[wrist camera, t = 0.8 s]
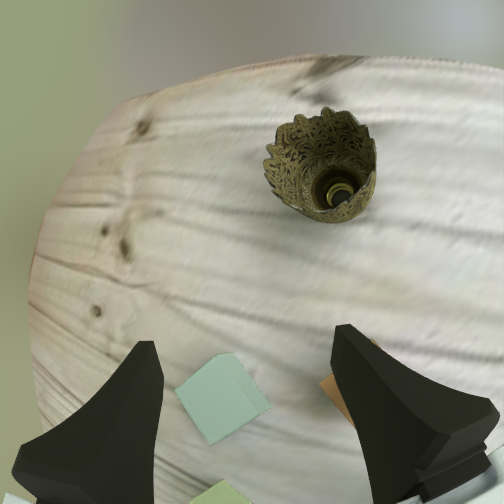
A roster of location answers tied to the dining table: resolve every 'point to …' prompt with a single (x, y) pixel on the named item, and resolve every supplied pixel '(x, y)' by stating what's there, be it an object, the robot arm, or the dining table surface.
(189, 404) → the mint green base block
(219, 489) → the sage block
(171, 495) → the dining table surface
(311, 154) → the cup
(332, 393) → the walnut block
